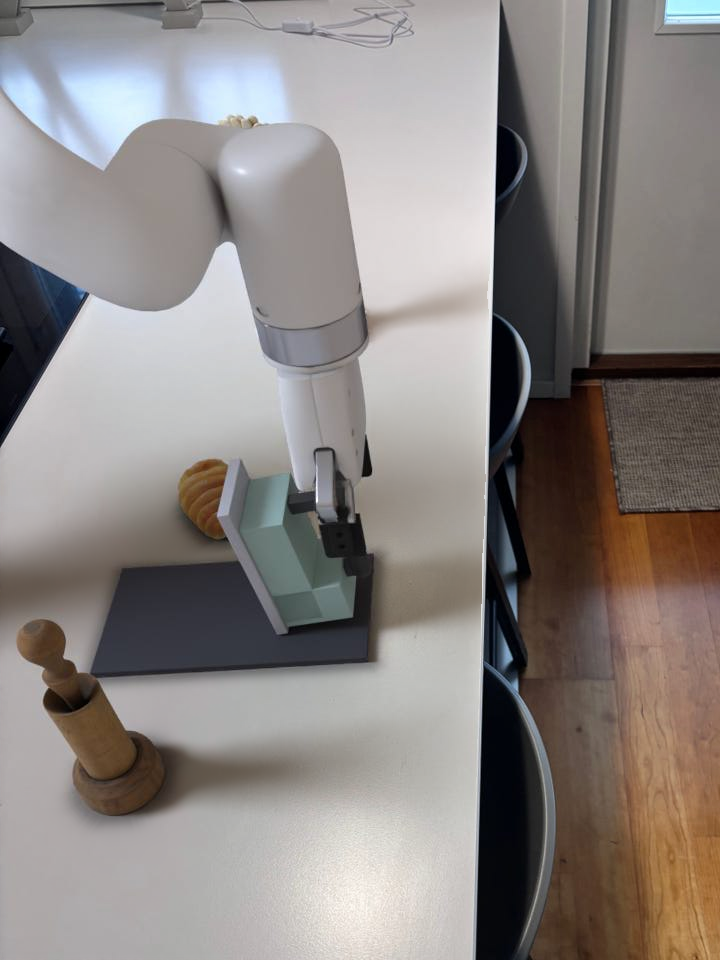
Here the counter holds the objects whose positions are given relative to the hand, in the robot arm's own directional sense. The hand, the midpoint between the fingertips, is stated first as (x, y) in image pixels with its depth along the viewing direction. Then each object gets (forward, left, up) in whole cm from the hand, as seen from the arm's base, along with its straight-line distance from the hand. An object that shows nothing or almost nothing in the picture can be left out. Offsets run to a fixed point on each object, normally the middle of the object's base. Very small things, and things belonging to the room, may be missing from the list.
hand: (350, 513), depth 80 cm
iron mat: (-12, 0, -11) cm, 16 cm away
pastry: (-16, +15, -11) cm, 25 cm away
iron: (-9, 0, -3) cm, 9 cm away
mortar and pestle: (-19, -17, -11) cm, 28 cm away
